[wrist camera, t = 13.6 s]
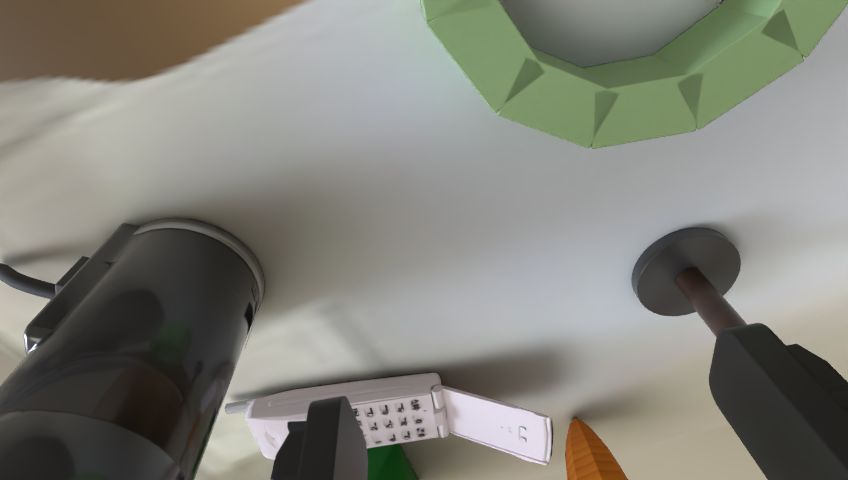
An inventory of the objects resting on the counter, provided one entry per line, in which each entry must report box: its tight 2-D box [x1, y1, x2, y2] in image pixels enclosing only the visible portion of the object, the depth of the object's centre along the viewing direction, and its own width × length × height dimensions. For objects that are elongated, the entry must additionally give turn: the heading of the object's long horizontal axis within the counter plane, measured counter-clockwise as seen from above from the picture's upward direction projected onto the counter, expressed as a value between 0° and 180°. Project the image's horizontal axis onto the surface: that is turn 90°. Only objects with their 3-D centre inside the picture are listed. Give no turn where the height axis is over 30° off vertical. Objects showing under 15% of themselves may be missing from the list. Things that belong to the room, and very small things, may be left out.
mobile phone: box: [225, 373, 553, 466], centre depth 38 cm, size 6×6×25 cm
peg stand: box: [632, 228, 747, 337], centre depth 30 cm, size 7×7×10 cm
